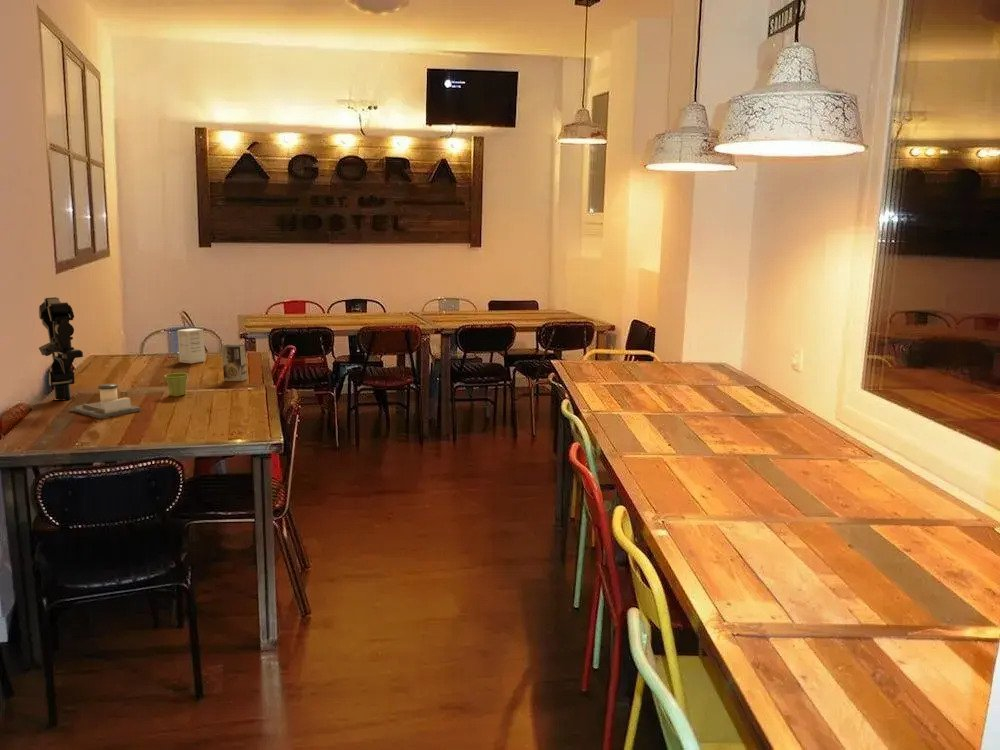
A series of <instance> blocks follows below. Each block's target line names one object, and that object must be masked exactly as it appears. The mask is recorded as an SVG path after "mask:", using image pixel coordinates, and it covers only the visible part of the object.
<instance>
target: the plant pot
mask: <svg viewBox="0 0 1000 750" xmlns="http://www.w3.org/2000/svg"><path fill="white" fill-rule="evenodd" d="M188 376H189V374H188V373H187V372H176V373H168V374H164V378H165V380H166V382H167V383H166V384H167V386H168V391H169V396H170V397H181V396H186V394H187V379H188Z"/></svg>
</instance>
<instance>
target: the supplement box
mask: <svg viewBox="0 0 1000 750" xmlns="http://www.w3.org/2000/svg"><path fill="white" fill-rule="evenodd" d="M176 333H177V342H178V343H177V345H178V355H179V362H180V363H185V364H195V363H202V362H206V361H207V360H206V350H205V337H204V329H203V328H192V327H191V328H184V329H178V330H177V332H176Z"/></svg>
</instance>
